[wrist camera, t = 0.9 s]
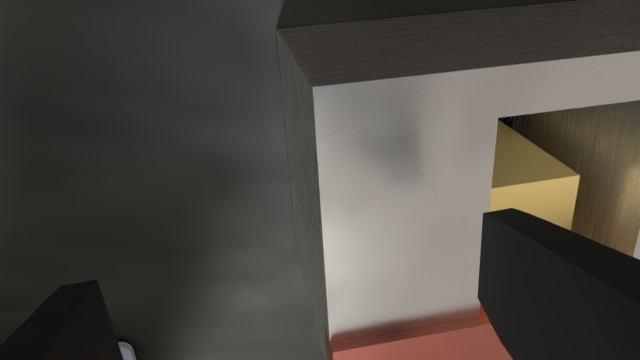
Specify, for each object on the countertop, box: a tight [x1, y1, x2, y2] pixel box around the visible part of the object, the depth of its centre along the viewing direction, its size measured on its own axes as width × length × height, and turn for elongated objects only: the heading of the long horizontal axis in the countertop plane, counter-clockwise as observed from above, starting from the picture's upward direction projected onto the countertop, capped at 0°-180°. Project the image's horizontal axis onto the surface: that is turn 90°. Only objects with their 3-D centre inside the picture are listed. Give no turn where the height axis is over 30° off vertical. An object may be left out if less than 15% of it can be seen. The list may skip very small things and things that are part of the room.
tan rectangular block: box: [489, 120, 580, 231], centre depth 20 cm, size 12×3×6 cm, turn 4°
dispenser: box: [276, 0, 640, 360], centre depth 17 cm, size 9×13×7 cm
